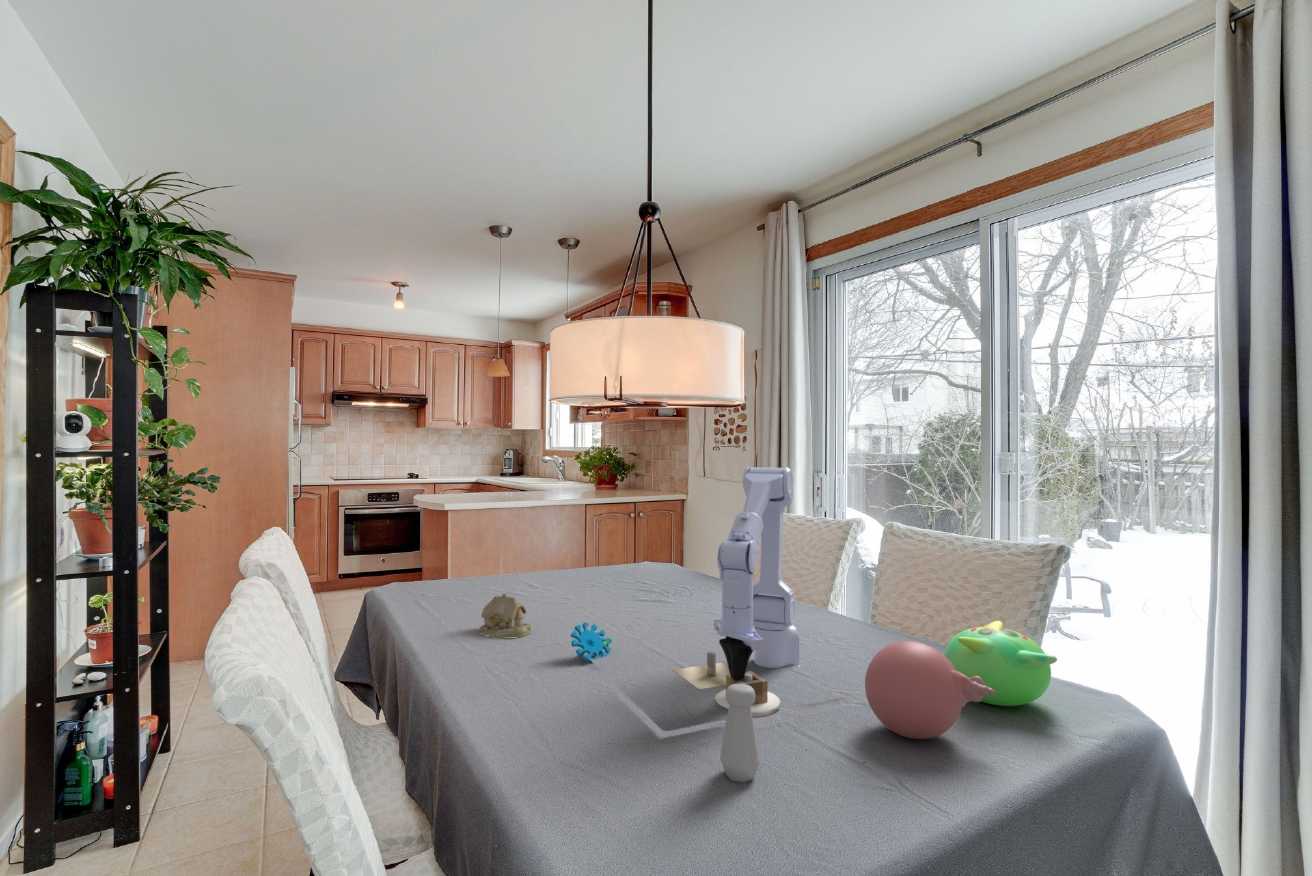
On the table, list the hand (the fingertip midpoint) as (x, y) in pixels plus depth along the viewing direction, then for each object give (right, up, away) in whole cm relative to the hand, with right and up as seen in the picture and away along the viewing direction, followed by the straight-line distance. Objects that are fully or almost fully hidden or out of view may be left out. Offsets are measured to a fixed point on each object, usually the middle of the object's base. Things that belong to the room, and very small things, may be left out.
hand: (737, 678), depth 121 cm
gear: (-30, -6, +27) cm, 41 cm away
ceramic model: (-54, -6, +48) cm, 73 cm away
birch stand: (-4, -5, +14) cm, 15 cm away
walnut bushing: (+2, -4, +1) cm, 5 cm away
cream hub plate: (+2, -5, +1) cm, 6 cm away
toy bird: (+50, -6, +2) cm, 50 cm away
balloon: (+30, -5, -13) cm, 33 cm away
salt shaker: (-3, -5, -25) cm, 26 cm away
